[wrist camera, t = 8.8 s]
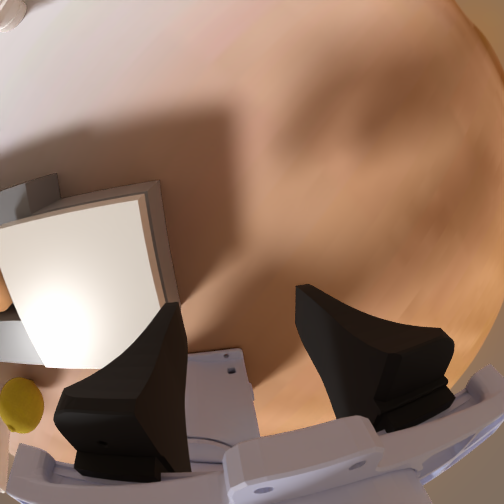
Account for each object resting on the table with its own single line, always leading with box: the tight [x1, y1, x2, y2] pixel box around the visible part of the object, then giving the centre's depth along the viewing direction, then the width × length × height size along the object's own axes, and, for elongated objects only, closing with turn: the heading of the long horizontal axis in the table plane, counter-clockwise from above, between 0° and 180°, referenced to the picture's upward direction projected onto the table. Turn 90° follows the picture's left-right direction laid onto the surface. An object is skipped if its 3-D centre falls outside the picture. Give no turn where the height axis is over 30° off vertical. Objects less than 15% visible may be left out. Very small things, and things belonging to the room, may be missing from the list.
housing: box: [0, 173, 181, 365], centre depth 17 cm, size 22×14×4 cm, turn 94°
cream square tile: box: [0, 194, 166, 369], centre depth 14 cm, size 10×10×2 cm
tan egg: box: [0, 269, 13, 312], centre depth 17 cm, size 4×4×4 cm
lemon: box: [0, 377, 44, 433], centre depth 20 cm, size 6×6×8 cm
